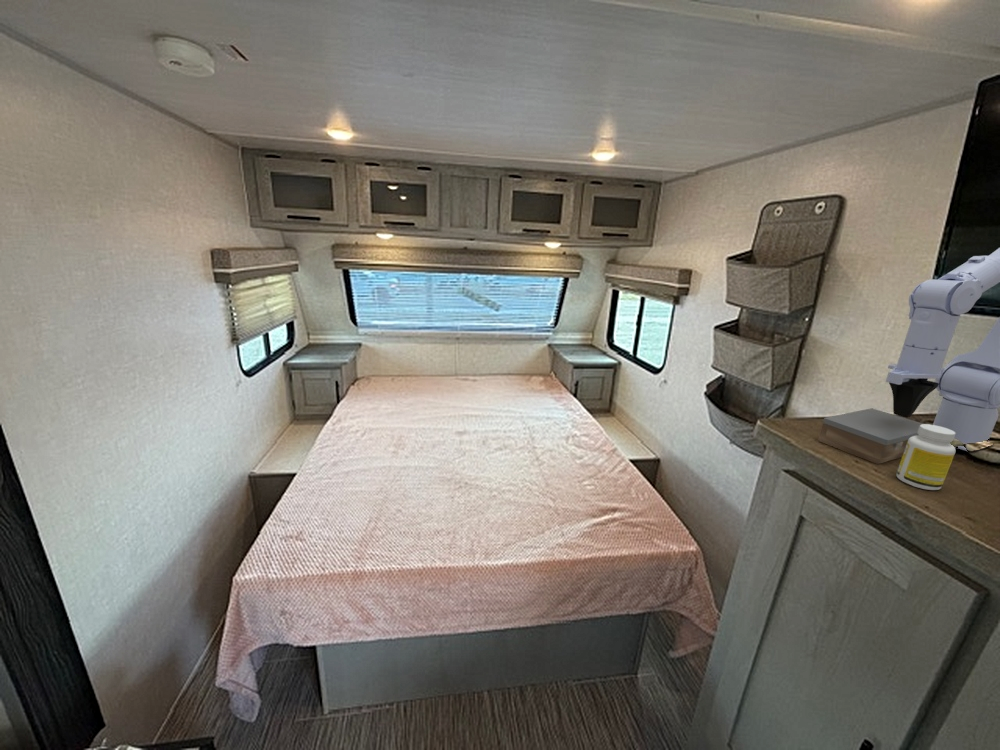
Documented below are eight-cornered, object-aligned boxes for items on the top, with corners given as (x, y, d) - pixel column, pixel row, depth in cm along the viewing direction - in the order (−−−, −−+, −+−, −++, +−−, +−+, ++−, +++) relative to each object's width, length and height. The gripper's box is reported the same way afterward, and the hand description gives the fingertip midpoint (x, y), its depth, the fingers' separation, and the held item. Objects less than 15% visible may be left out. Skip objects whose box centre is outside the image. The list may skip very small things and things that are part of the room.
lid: (870, 412, 86) (872, 408, 85) (935, 432, 76) (936, 427, 76) (822, 422, 80) (823, 418, 79) (886, 445, 71) (888, 440, 70)
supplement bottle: (950, 493, 63) (973, 437, 61) (911, 489, 64) (931, 434, 62) (923, 475, 68) (943, 423, 66) (887, 472, 70) (904, 420, 67)
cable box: (864, 429, 87) (869, 413, 86) (928, 451, 77) (935, 432, 76) (818, 440, 81) (823, 422, 80) (880, 465, 72) (887, 445, 71)
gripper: (918, 340, 79) (896, 403, 83) (875, 344, 74) (855, 412, 78) (968, 347, 73) (942, 416, 77) (925, 353, 67) (900, 426, 71)
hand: (901, 415), depth 77 cm, fingers closed
